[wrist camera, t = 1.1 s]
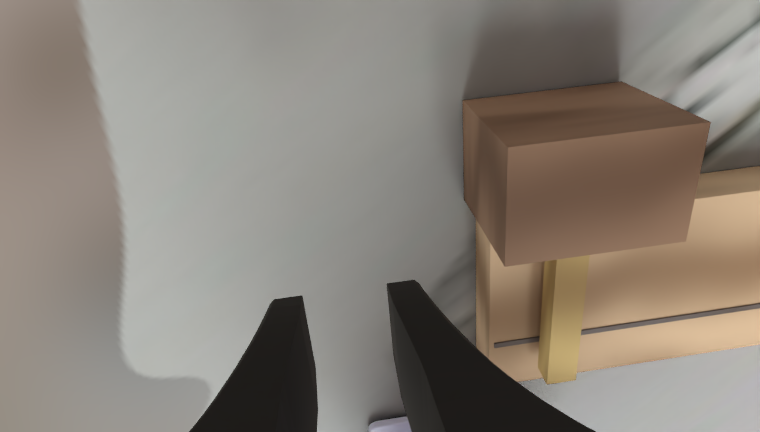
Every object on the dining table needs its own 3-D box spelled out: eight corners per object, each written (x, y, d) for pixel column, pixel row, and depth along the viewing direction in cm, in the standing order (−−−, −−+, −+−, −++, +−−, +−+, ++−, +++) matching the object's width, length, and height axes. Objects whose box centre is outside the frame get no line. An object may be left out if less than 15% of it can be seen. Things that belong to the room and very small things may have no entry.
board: (889, 292, 27) (932, 318, 25) (476, 355, 25) (489, 387, 24) (955, 140, 23) (1011, 157, 21) (475, 203, 22) (491, 227, 20)
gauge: (592, 317, 25) (653, 398, 21) (466, 336, 25) (500, 423, 20) (621, 81, 20) (710, 121, 16) (462, 100, 20) (507, 147, 15)
